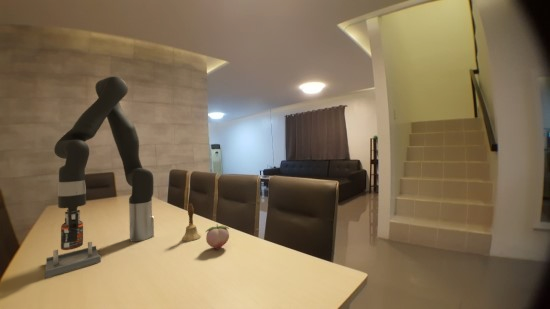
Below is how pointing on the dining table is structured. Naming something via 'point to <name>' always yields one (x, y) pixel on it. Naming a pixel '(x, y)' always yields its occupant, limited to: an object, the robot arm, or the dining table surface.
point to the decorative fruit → (217, 236)
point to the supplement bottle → (65, 236)
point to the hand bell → (191, 227)
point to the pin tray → (71, 260)
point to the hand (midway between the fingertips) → (72, 238)
